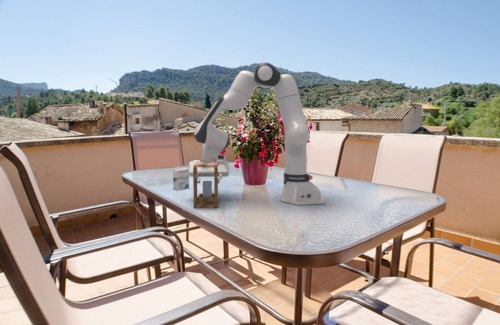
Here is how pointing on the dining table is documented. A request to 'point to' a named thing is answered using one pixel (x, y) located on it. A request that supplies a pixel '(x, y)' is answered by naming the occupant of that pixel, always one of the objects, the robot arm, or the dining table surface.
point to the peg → (207, 188)
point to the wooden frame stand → (200, 200)
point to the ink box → (180, 179)
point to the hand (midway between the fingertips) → (208, 182)
